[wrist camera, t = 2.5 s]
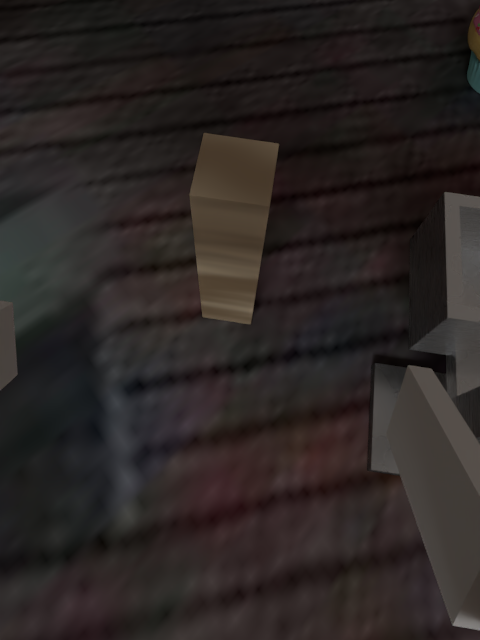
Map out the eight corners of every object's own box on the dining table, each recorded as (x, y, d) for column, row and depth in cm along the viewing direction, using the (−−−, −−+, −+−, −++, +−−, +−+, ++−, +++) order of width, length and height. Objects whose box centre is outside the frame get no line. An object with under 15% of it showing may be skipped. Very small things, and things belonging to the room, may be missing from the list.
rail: (250, 324, 33) (269, 206, 20) (202, 316, 33) (189, 194, 20) (257, 281, 34) (279, 143, 21) (210, 274, 34) (203, 133, 21)
